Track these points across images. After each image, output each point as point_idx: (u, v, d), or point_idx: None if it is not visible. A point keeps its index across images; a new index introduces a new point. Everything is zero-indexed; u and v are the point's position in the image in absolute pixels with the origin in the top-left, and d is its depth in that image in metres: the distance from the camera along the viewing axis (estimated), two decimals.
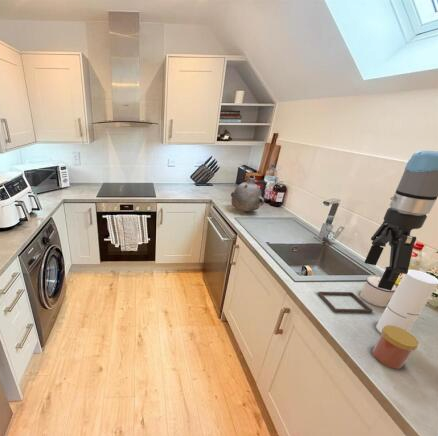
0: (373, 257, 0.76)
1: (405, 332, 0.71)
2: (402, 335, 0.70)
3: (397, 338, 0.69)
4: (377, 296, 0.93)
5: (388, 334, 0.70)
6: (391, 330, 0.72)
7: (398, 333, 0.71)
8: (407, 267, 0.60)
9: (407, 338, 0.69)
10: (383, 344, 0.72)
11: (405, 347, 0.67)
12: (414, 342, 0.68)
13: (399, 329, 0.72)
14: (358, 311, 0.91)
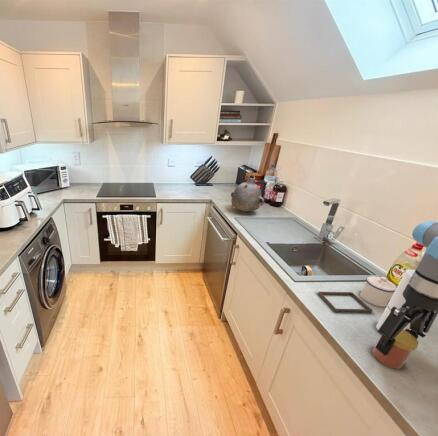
0: None
1: (405, 332, 0.71)
2: (402, 335, 0.70)
3: (397, 338, 0.69)
4: (377, 296, 0.93)
5: None
6: None
7: None
8: None
9: (407, 338, 0.69)
10: None
11: (405, 347, 0.67)
12: (414, 342, 0.68)
13: None
14: (358, 311, 0.91)
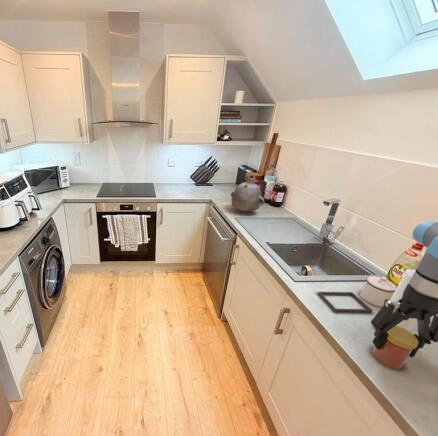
0: None
1: (390, 333, 0.70)
2: (398, 333, 0.70)
3: (408, 334, 0.70)
4: (377, 296, 0.93)
5: (416, 339, 0.68)
6: (407, 340, 0.68)
7: (401, 336, 0.69)
8: (376, 324, 0.70)
9: (394, 330, 0.71)
10: (383, 344, 0.72)
11: None
12: None
13: (395, 337, 0.69)
14: (358, 311, 0.91)
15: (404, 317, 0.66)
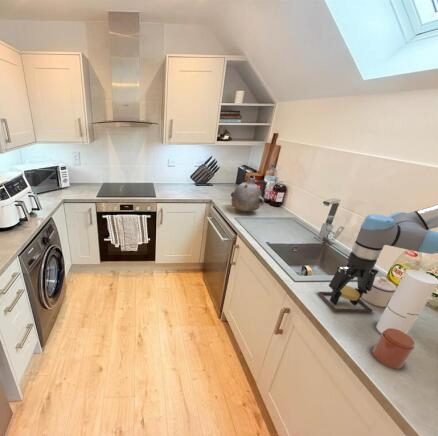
0: None
1: (342, 291, 0.93)
2: (346, 290, 0.94)
3: (352, 289, 0.94)
4: (377, 296, 0.93)
5: (357, 292, 0.93)
6: (353, 293, 0.92)
7: (348, 291, 0.93)
8: (333, 286, 0.92)
9: (343, 288, 0.95)
10: (383, 344, 0.72)
11: None
12: None
13: (346, 293, 0.92)
14: (358, 311, 0.91)
15: (351, 277, 0.89)
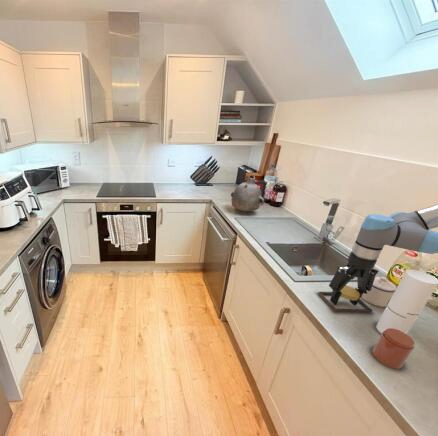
0: None
1: (342, 291, 0.93)
2: (346, 290, 0.94)
3: (352, 289, 0.94)
4: (377, 296, 0.93)
5: (357, 292, 0.93)
6: (353, 293, 0.92)
7: (348, 291, 0.93)
8: (334, 286, 0.92)
9: (343, 288, 0.95)
10: (383, 344, 0.72)
11: None
12: None
13: (346, 293, 0.92)
14: (358, 311, 0.91)
15: (351, 277, 0.89)
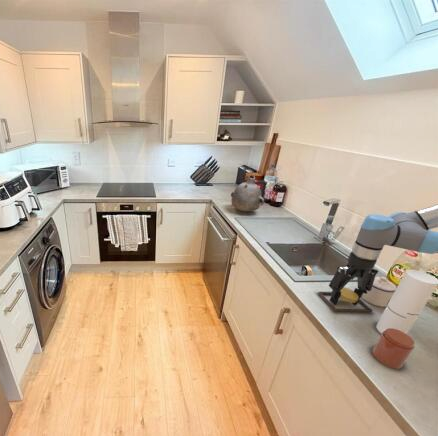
0: None
1: (341, 293, 0.93)
2: (345, 292, 0.94)
3: (350, 291, 0.95)
4: (377, 296, 0.93)
5: (356, 294, 0.93)
6: (352, 296, 0.92)
7: (348, 293, 0.93)
8: (333, 286, 0.92)
9: (342, 290, 0.95)
10: (383, 344, 0.72)
11: None
12: None
13: (345, 295, 0.92)
14: (358, 311, 0.91)
15: (351, 277, 0.89)
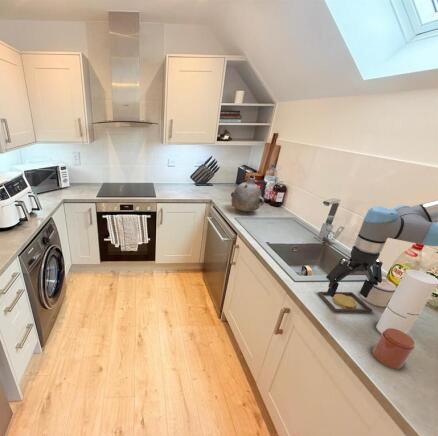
0: (364, 290, 0.93)
1: (339, 300, 0.95)
2: (343, 299, 0.96)
3: (348, 298, 0.96)
4: (377, 296, 0.93)
5: (354, 301, 0.95)
6: (350, 303, 0.94)
7: (345, 301, 0.95)
8: (332, 277, 0.90)
9: (340, 297, 0.97)
10: (383, 344, 0.72)
11: None
12: (337, 295, 0.98)
13: (342, 303, 0.94)
14: (358, 311, 0.91)
15: (352, 270, 0.88)
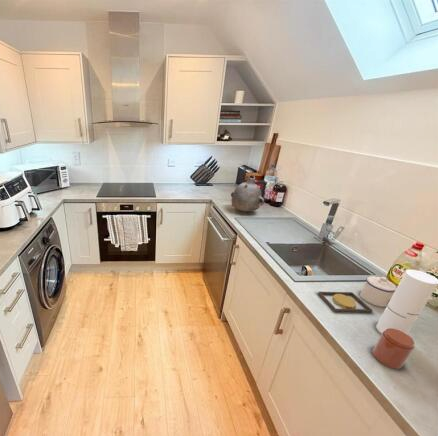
0: None
1: (339, 300, 0.95)
2: (343, 299, 0.96)
3: (348, 298, 0.96)
4: (377, 296, 0.93)
5: (354, 301, 0.95)
6: (350, 303, 0.94)
7: (345, 301, 0.95)
8: None
9: (340, 297, 0.97)
10: (383, 344, 0.72)
11: None
12: (337, 295, 0.98)
13: (342, 303, 0.94)
14: (358, 311, 0.91)
15: None
